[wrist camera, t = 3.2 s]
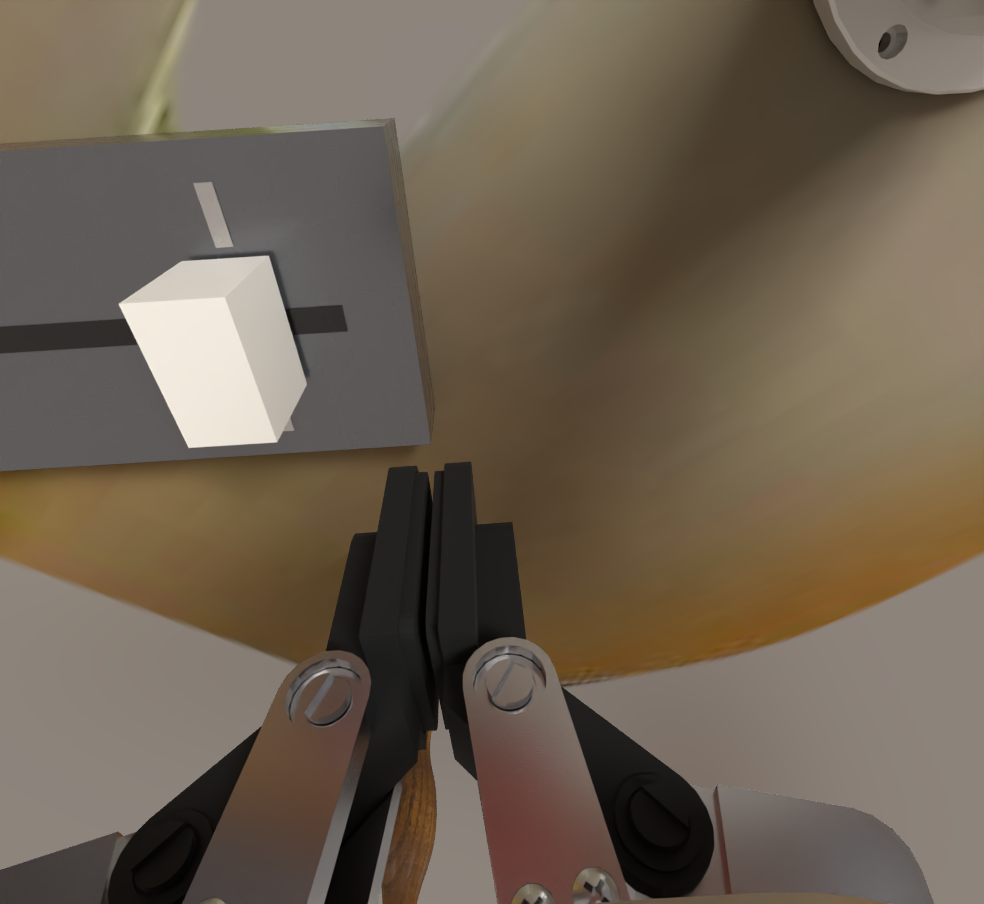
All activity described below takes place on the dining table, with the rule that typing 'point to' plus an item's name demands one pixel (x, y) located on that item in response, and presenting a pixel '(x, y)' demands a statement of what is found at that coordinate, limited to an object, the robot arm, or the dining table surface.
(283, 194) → the fader panel
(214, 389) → the fader knob
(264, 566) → the dining table surface
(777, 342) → the dining table surface
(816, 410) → the dining table surface
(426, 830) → the hand bell
